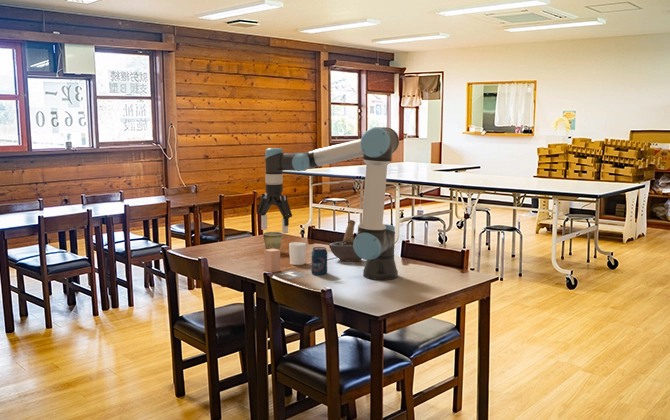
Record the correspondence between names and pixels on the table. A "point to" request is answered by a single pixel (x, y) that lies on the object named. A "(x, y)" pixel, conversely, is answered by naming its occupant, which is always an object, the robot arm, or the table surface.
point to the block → (272, 260)
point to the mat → (290, 274)
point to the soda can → (319, 261)
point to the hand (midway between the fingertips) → (274, 231)
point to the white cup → (297, 253)
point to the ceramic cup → (272, 240)
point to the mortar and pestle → (346, 245)
